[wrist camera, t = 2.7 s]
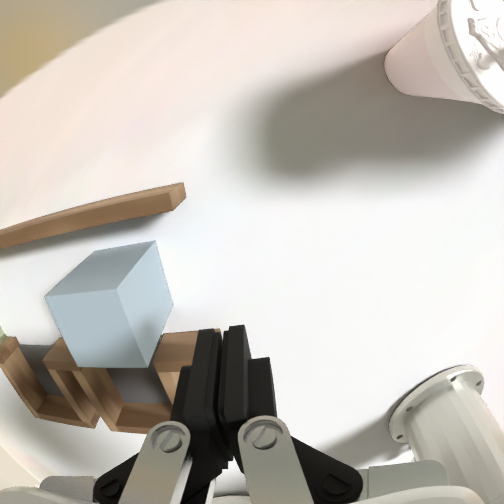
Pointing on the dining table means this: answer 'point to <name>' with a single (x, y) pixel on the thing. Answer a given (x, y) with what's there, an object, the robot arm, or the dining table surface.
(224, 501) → the flower in vase
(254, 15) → the dining table surface
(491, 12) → the smoothie
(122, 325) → the block
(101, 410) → the brown open tray piece
